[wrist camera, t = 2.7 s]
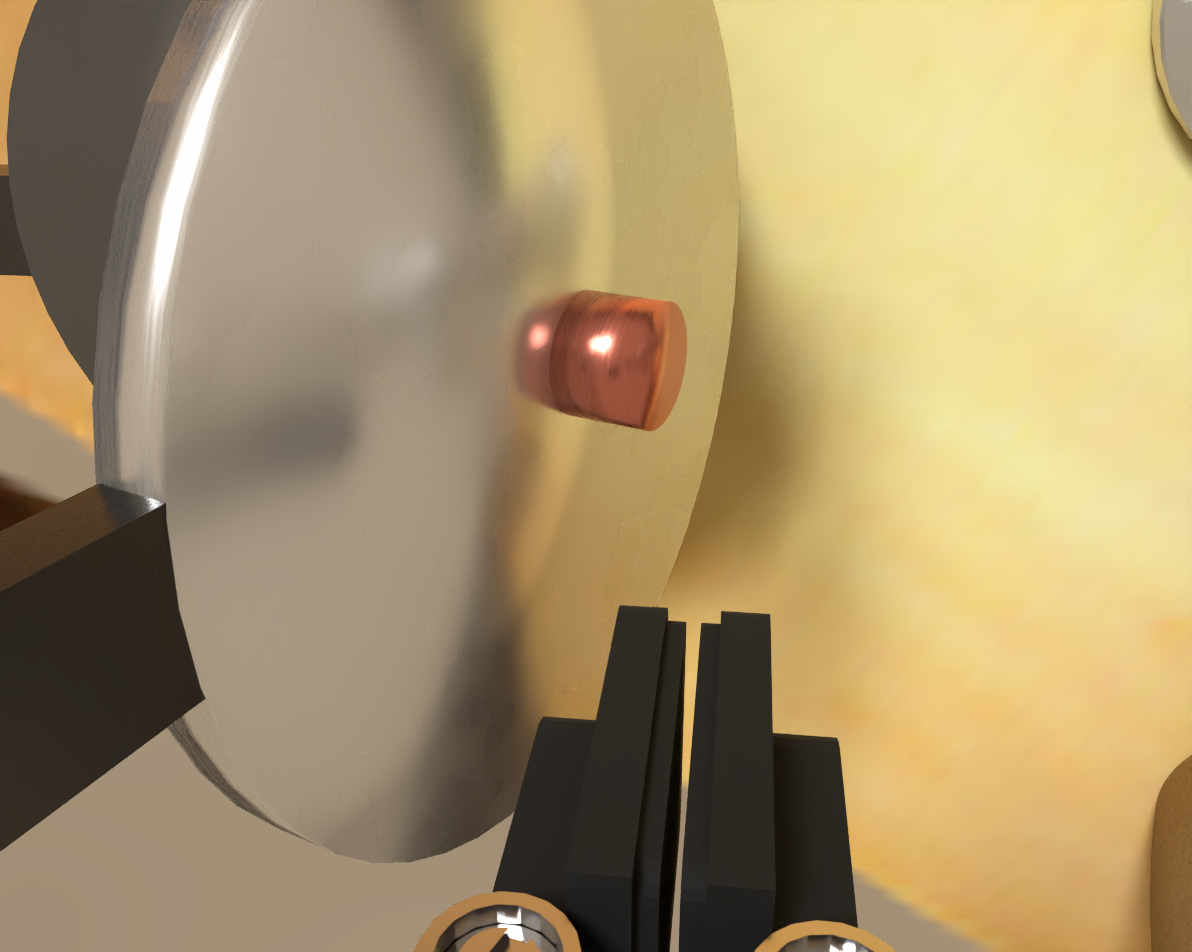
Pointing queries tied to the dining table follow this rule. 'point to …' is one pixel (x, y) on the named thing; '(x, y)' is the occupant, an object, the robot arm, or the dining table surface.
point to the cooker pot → (76, 147)
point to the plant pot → (1172, 864)
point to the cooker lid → (381, 408)
